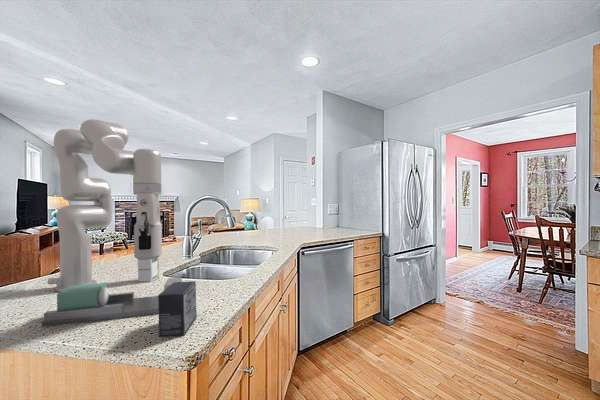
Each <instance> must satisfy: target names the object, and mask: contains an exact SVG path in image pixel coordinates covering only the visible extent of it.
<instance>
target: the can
mask: <svg viewBox="0 0 600 400" xmlns="http://www.w3.org/2000/svg"><path fill="white" fill-rule="evenodd" d="M157 221H158V222H157V225H156V226H155V227H153V225H150V227H151V228H150V229H151V230H150V236H151V249H146V250H139V228H140V227H138V226H137V219H136V222H135V223H134V225H133V243H134V244H133V247H134V249H133V256H134V257H135V258H136V259H137V261H138V260H149V259H155V258H158V259H159V258H160V257H161V255H162V254H163V236H162V235H163V232H162V231H163V230H162V229H163V228H162V227H163V225H162V222H161V221H160V222H159V219H158V220H157ZM145 225H149V224H148V223H145ZM147 231H148V228H147Z"/></svg>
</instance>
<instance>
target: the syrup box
mask: <svg viewBox="0 0 600 400" xmlns="http://www.w3.org/2000/svg"><path fill="white" fill-rule="evenodd" d="M159 271H160V269H159V257H158V258H155V259H149V260H138V259H137V281H138V282H140V283H143V282H144V283H146V282H148V283H149V282H150V283H151V282H153V281H155V280H157V279H159V278H160V274H159V273H160V272H159Z"/></svg>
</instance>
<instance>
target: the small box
mask: <svg viewBox="0 0 600 400" xmlns="http://www.w3.org/2000/svg"><path fill="white" fill-rule="evenodd" d="M196 287H197V283H196V281H193V280H191V281H182V282H174V283H172V284H171V285H170V286H169V287H168V288H166V289H165V290H164V289H163V291H162V292H160V293H158V295H157V296H158V304H159V314H158V336H159V338H162V337H163V338H164V337H166V338H167V337H181V336H182V337H183V336H186V334H187V333H188V331H189V330H190V328H191V327H192V326H193V324H194V323H195V321H196V319H197V316H198V315H197V290H196V289H197V288H196Z"/></svg>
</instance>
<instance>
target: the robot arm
mask: <svg viewBox="0 0 600 400" xmlns="http://www.w3.org/2000/svg"><path fill="white" fill-rule="evenodd" d="M128 141H129V133H128V131H127V129H126V128H125V127H124V126H122V125H120V124H117V123H113V122H108V121H104V120H99V119H88V120H87V119H86V120H85V121H83V122H82V123H81V124H80V127H79V129H74V128H61V129H59V130H58V131H56V133H54V136H53V149H54V154H55V156H56V158H57V161H58V165H59V182H60V184H59V185H60V187H59V188H60V195H61V198H62V199H63V200H65V201H68V202H92V203H93V204H70V205H65V206H62V207H60V208H59V209H58V210H57V212H56V214H55V220H56V224H57V229H58V234H59V235H58V236H59V277H51V278H50V277H49V278H48V279H47V284H48V285H56V286H55V287H54V291H55V292H57V293H60V292H62V291H64V290H65V289H67V288H69V287H70V286H75V285H87V284H98V282H97V280H96V279H93V278H92V277H93V276H92V275H93V273H92V270H93V268H92V266H93V265H92V264H93V263H92V258H93V257H92V256H93V255H92V254H93V253H92V250H93V249H92V239H91V236H89V234H88V233H87V232H86V231H85V230H89V229H101V228H106V227H108V226H110V224H111V222H112V217H113V216H112V215H113V212H112V211H113V208H112V205H113V204H112V191H111V187H110V184H109V182H108V181H107V180H105V179H103V178H100V177H99V178H97V177H90V175H89V166H88V164H87V162H86V161H85V160H84V158H83V157H82V156H81V155H80V154H85V155H92V159H93V161H94V162H95V164H96V165H97V166H98V167H99V168H100V169H102V170H103V171H104V172H107V173H110V174H116V175H117V174H118V175H130V176H132V177H133V195H134V196H136V220H137V221H136V223H137V226H138V227H140V228H139V250H146V249H151V236H150V230H151V229H150V228H151V227H150V225H153V227H155V226H156V225H157V222H158V221H157V220H158V219H159V222H160V223H161V208H160V206H161V205H160V195H161V196H162V155H161V153H160V152H159V151H158V150H155V149H150V148H138V149H136V150H134V151H132V150H126V149H124V148H125V146H126V145H127V143H128ZM145 223H148V224H149V225H145ZM147 228H148V231H147Z"/></svg>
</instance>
